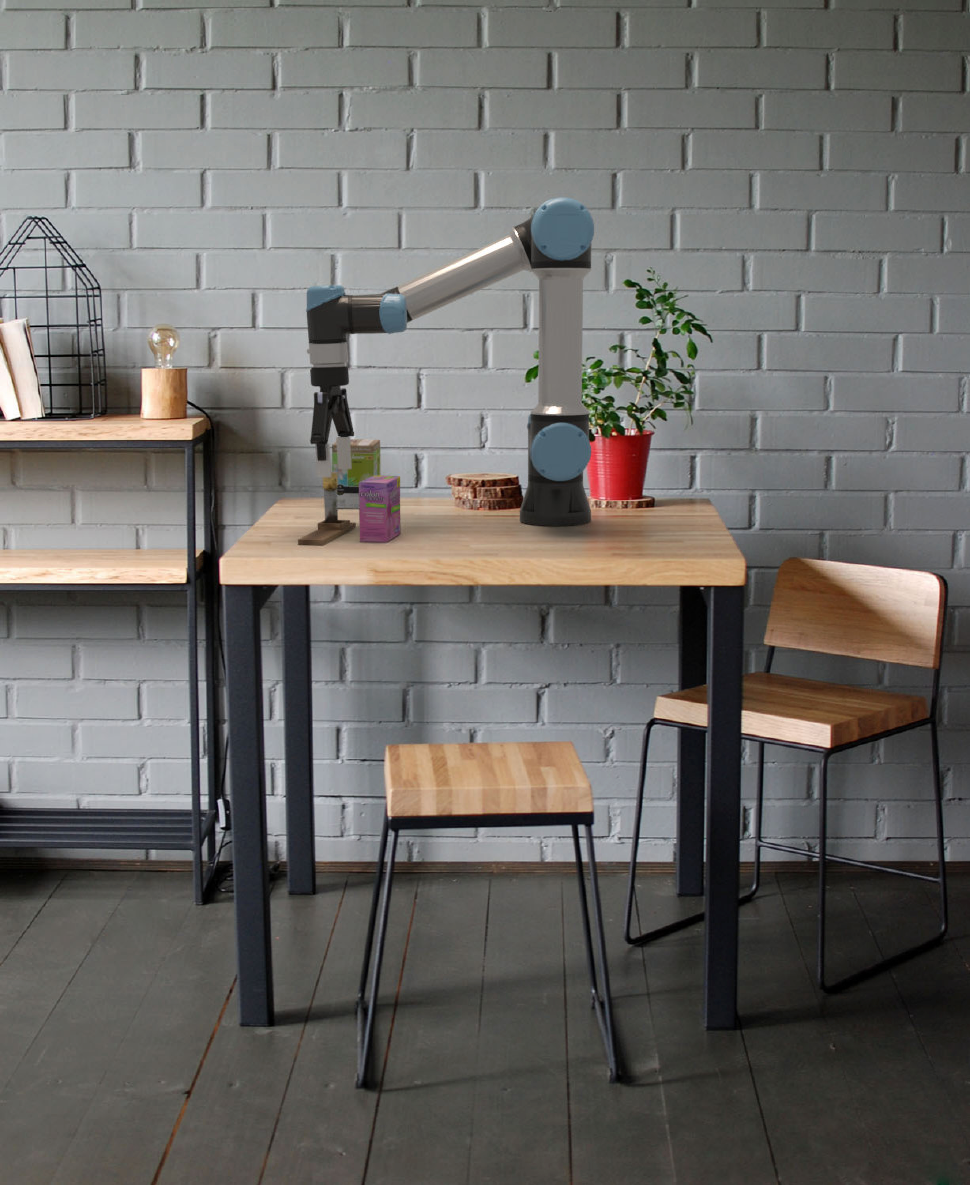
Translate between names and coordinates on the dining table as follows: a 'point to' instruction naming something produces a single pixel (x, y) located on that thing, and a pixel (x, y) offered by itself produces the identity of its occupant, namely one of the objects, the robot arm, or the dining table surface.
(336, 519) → the silver gold cylinder
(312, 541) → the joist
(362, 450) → the tea box
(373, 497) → the box
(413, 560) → the dining table surface
